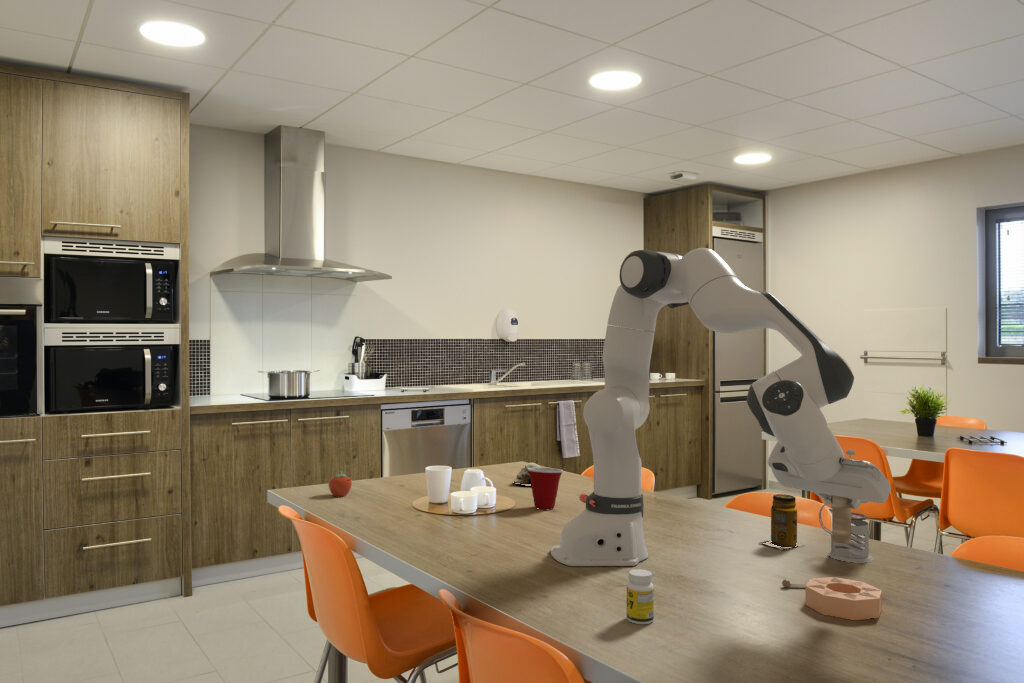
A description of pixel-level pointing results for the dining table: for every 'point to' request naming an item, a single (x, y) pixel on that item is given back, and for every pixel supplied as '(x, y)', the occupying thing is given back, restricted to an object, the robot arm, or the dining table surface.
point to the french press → (852, 537)
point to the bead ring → (843, 598)
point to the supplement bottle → (640, 597)
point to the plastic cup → (544, 486)
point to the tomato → (340, 485)
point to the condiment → (783, 521)
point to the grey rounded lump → (525, 474)
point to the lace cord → (787, 584)
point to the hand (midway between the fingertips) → (843, 503)
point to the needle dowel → (841, 520)
